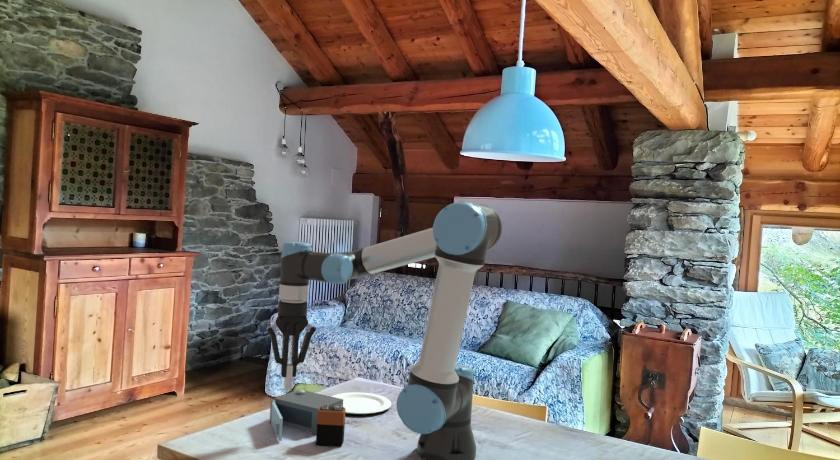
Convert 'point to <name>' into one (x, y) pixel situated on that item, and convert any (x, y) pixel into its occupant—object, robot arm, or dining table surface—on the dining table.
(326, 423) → the battery
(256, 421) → the dining table surface
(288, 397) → the camera body
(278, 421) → the door
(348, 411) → the plate
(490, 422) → the dining table surface
